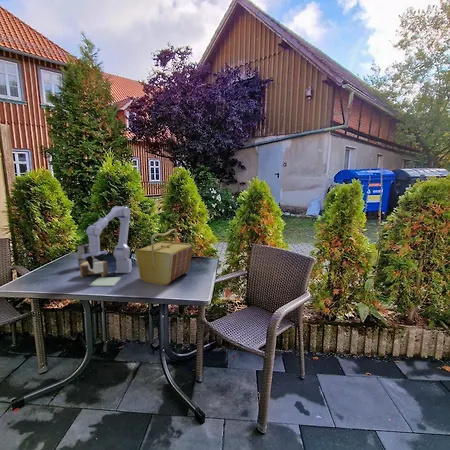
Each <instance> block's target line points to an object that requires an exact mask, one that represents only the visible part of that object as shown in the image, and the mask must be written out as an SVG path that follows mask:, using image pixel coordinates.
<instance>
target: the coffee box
mask: <svg viewBox="0 0 450 450" xmlns="http://www.w3.org/2000/svg"><path fill="white" fill-rule="evenodd" d="M87 253H90V249H89V243H84V244H81V245H77V259H78V261H77V263H78V269H80V264H82V263H83V262H85V261H87V260H86V258H82V255H83V254H87ZM92 258H93V259H95V256H93V257H92Z"/></svg>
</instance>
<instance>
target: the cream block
mask: <svg viewBox="0 0 450 450" xmlns="http://www.w3.org/2000/svg"><path fill="white" fill-rule="evenodd" d="M88 269H89V270H90V271H92V272H94V273H100V272H103V262H102V261H99V260H98V258H97V259H96V258H94V259H93V269H90V266H89V263H88Z"/></svg>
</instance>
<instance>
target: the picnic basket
mask: <svg viewBox="0 0 450 450" xmlns="http://www.w3.org/2000/svg"><path fill="white" fill-rule="evenodd" d="M173 231H174V241H167V240H161V241H159V242H156V243H154V238H155V237H157V236H159V237H164V236H165V237H166V236H167V235H170V234H171V233H172V232H173ZM193 249H194V246H193V245H192V244H191V243H189V242H188V243H187V242H186V243H185V242H178V230H177V229H176V228H172V229H170V230H168V231H167V232H164V233H161V232H160V233H159V232H158V233H154V234H153V235H152V236H151V237H150V245H147V246H144V247H142V248H138V249H135V251H134V256H135V260H136V264H137V270H138V274H139V278H140V279H141V281H143V282H144V283H149V284H155V285H161V286H167V285H169V284H170V283H171V282H172V281H174V280H176V279H178V278H179V277H181V276H183V275H184V274H186V273H188V272H190V266H191V260H192V256H193Z"/></svg>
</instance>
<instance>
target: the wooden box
mask: <svg viewBox="0 0 450 450" xmlns="http://www.w3.org/2000/svg"><path fill="white" fill-rule="evenodd" d="M108 267H109V266H108V261H107V260H105V261H104V260H103V272H100V273H94V272H92V271H90V270H89V269H88V261H85V262H83V263H82V264H80V268H79V269H80V278H81V279H84V277H85V276H87V275H101V277H107V275H108V274H109V272H108V270H109V268H108Z"/></svg>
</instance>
